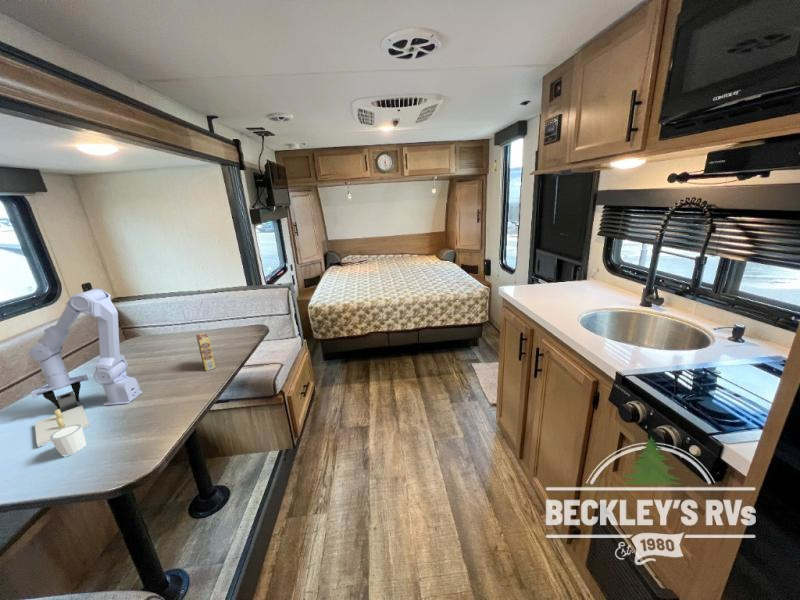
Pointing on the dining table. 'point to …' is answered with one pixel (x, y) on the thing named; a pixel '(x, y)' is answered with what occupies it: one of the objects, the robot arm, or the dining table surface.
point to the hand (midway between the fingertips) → (68, 404)
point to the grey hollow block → (67, 401)
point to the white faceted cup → (69, 439)
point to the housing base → (59, 423)
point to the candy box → (205, 351)
